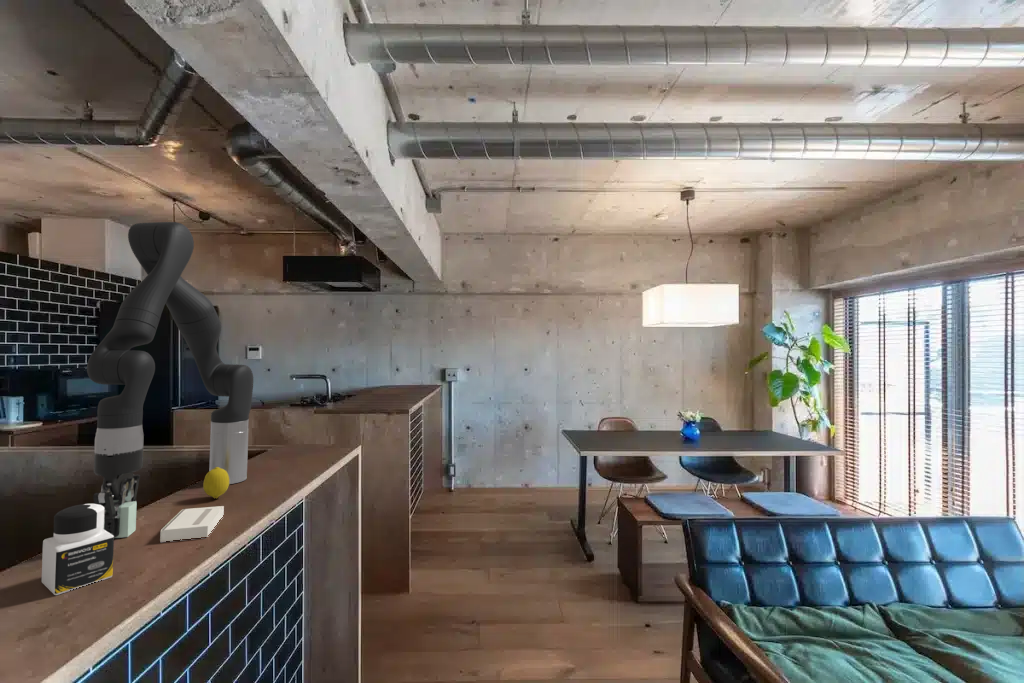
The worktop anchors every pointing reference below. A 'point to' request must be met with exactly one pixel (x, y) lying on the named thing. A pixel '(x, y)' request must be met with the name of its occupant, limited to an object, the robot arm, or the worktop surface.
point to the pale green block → (127, 519)
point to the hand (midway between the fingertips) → (116, 532)
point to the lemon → (216, 482)
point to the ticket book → (192, 523)
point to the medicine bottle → (77, 549)
